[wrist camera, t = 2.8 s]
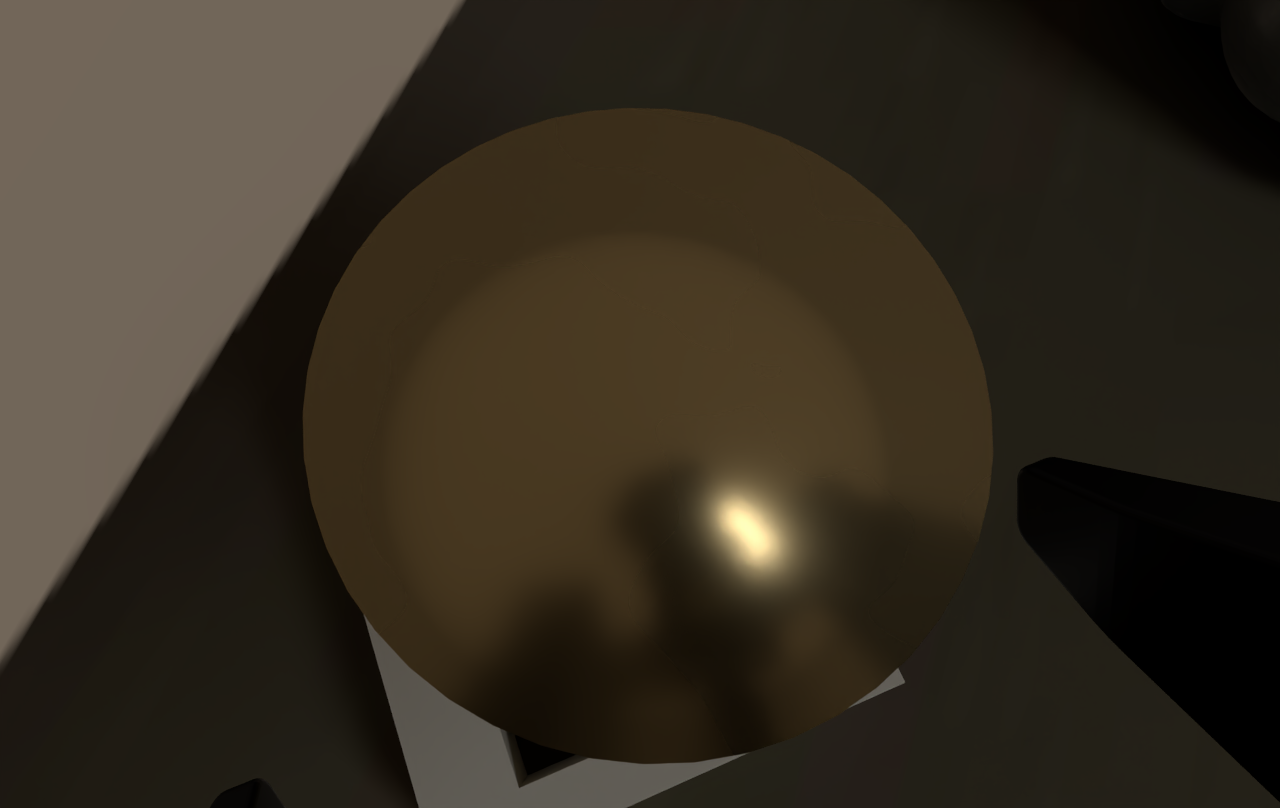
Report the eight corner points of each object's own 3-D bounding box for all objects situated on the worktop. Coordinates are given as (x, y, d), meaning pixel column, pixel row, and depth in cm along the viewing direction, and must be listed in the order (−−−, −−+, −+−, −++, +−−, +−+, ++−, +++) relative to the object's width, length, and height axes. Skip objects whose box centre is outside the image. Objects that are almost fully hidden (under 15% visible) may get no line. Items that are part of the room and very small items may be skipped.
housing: (862, 684, 18) (904, 682, 16) (462, 861, 16) (442, 890, 14) (713, 356, 20) (730, 312, 18) (350, 483, 19) (317, 452, 16)
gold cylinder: (744, 522, 19) (1036, 210, 7) (683, 747, 17) (926, 875, 5) (537, 456, 19) (459, 38, 7) (457, 672, 18) (169, 621, 5)
